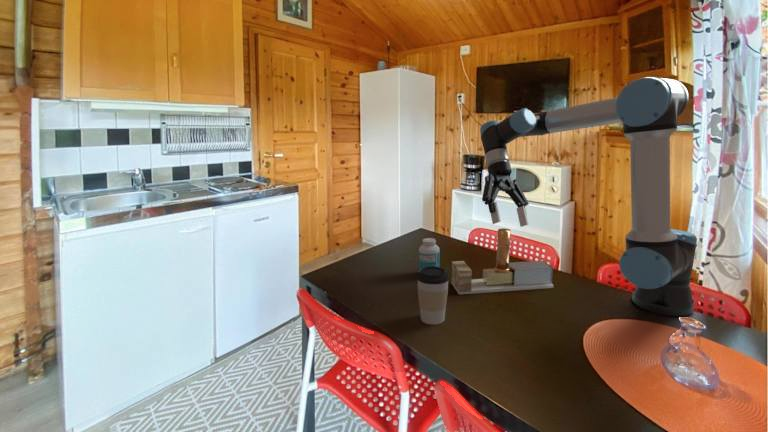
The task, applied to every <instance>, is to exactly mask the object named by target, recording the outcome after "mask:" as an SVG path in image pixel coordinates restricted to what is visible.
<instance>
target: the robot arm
mask: <svg viewBox="0 0 768 432" xmlns="http://www.w3.org/2000/svg"><path fill="white" fill-rule="evenodd" d="M688 104H689V91H688V89H687V87H686V86H685V85H684V84H683V83H682V82H680V81H678V80H676V79H674V78H673V79H672V78H665V77H664V78H663V77H659V76H646V77H641V78H637V79H635V80H633V81H631V82H629V83H628V84H627V85H626V86H625V87H623V89H622V90H620V92H619V94H618V96H617V97H613V98H607V99H601V100H598V101H597V100H596V101H593V102H588V103H586V102H585V103H582V104H577V105H573V106H572V105H571V106H567V107H563V108H562V107H561V108H557V109H552V110H547V111H542V112H536V113H533V112H532V111H531V110H530V109H528V108H527V107H523V108H521V109H519V110H517V111H514V112H512V114H510V115H509V116H508V117H506V118H504V119H503V120H501V121H499V120H490V121H486V122H485V123H483V124H482V125H481V126H480V129H479V132H480V141H481V144H482V147H483V152H484V156H485V157H484V158H485V161H486V167H487V173H488V174H487V175H486V176H484V187H483V192H482V198H481V200H482V202H483V203H484V205H488V206H487V207H488V210H489V213H490V217H491V221H492V222H491V223H492V225H495V224H498V223H499V222H501V216H500V210H499V207H498V202H497V201H495V200H496V199H497V197H498V195H499V192H501V191H502V192H505V194H507V195H508V196H509V197H510V199H511V200H512V201H513V203H514V204H515V205H516V206H517V207H516V214H517V216H518V222H519V226H520V228H521V227H522V228H523V227H525V226H528V225H529V222H528V216H527V209H526V207H527V206H528V205H530V203H529V201H528V199H527V197H526V195H525V193H524V192H523V191H522V188H521V187H520V184H519V181H518V179H517V178H514V179H512V178H511V174H512V168H511V163H510V158H509V153H508V150H507V149H508V147H507V144H509V143H511V142H512V141H514V140H516V139H518V138H523V137H531V136H532V137H533V136H534V137H535V136H546V135H549V134H553V133H554V134H555V133H561V132H567V131H575V130H580V129H588V128H589V129H590V128H594V127H600V126H601V127H602V126H607V125H613V124H619V123H622V131H623V132H622V133H623V134H622V135H623V136H624V137H625V138H626V139H627V140H629V142H630V144H629V149H630V150H629V152H630V155H629V156H630V199H631V200H630V202H631V203H630V204H631V206H630V207H631V209H630V210H631V230H630V231H629V232H628V233H626V234H625V251H623V252H622V254H621V256H620V258H619V262H618V265H619V269H620V272H621V274H622V276H623V277H624V278H625V279H626V280H627V282H629V283H630V284H631V285H634V286H635V287H636V288H634V290H633V293H632V296H631V297H632V298H631V301H632V302H633V303H634V304H635V306H637V307H639V308H641V309H643V310H645V311H647V312H650V313H652V314H653V313H654V314H658V315H662V316H668V317H685V316H689V315H691V314H693V312H694V307H695V302H694V300H693V294H692V289H691V278H692V273H693V268H694V261H695V255H696V250H697V246H698V243H697V241H698V239H697V236H696V234H694V233H693V232H689V231H686V230H685V231H684V230H679V229H674V228H671V140H670V139H671V136H672V135H673V134H674V133H675V132H676V131H678V118H679V117H680V116H681V115H682V114H683V113H684V112H685V110H686V108H687V107H688Z"/></svg>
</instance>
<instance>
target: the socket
mask: <svg viewBox="0 0 768 432" xmlns="http://www.w3.org/2000/svg"><path fill="white" fill-rule="evenodd" d="M472 273H473V270H472V269H471V268H470V267H469V265H468V264H467V263H466V262H465V260H458V261H457V260H456V261H451V283H452V282H453V284H454V285H455V287H456V288H457V290H458V291H459V292H461V291H468V292H469V291H471V282H472V279H473V278H472V276H473V275H472Z"/></svg>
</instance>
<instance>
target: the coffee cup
mask: <svg viewBox="0 0 768 432" xmlns="http://www.w3.org/2000/svg"><path fill="white" fill-rule="evenodd" d="M416 280H417V295H418V306H419V312H420V321H421V322H423V323H424V324H426V325H440V324H441V323H444V322H445V319H446V308H447V300H448V292H449V280H450V277H449V273H448V272H447V271H446V270H445V269H444V268H443V267H434V266H431V267H425V268H423V269H422V270H421V271H420V272H419V271H418V273H417V275H416Z"/></svg>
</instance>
